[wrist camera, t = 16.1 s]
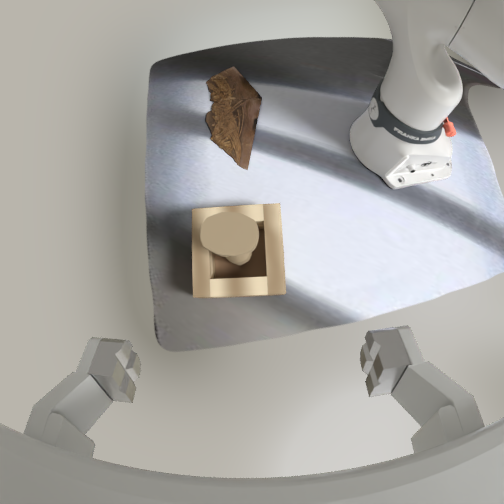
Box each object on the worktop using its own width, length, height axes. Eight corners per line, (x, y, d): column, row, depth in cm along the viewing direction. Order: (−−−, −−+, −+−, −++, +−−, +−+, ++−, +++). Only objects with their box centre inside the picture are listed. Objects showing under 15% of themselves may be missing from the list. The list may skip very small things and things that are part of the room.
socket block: (278, 214, 49) (280, 203, 43) (283, 294, 47) (285, 293, 41) (199, 219, 49) (192, 208, 44) (201, 298, 47) (193, 297, 42)
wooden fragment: (206, 71, 56) (205, 68, 55) (257, 66, 55) (257, 62, 54) (207, 174, 51) (206, 171, 50) (270, 168, 51) (270, 165, 50)
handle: (221, 239, 48) (202, 210, 33) (262, 241, 48) (260, 213, 33) (219, 269, 47) (197, 253, 33) (259, 272, 47) (257, 257, 32)
